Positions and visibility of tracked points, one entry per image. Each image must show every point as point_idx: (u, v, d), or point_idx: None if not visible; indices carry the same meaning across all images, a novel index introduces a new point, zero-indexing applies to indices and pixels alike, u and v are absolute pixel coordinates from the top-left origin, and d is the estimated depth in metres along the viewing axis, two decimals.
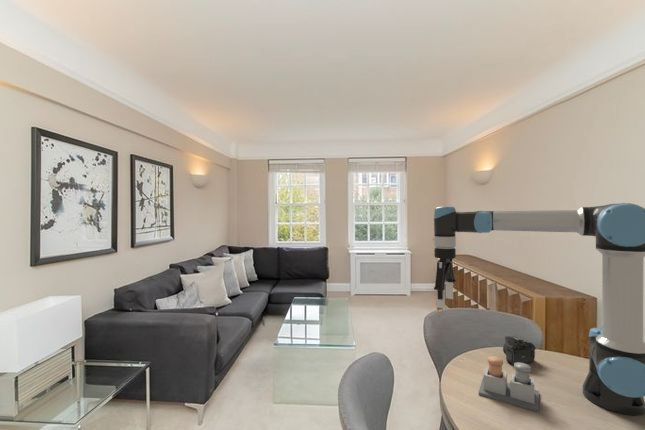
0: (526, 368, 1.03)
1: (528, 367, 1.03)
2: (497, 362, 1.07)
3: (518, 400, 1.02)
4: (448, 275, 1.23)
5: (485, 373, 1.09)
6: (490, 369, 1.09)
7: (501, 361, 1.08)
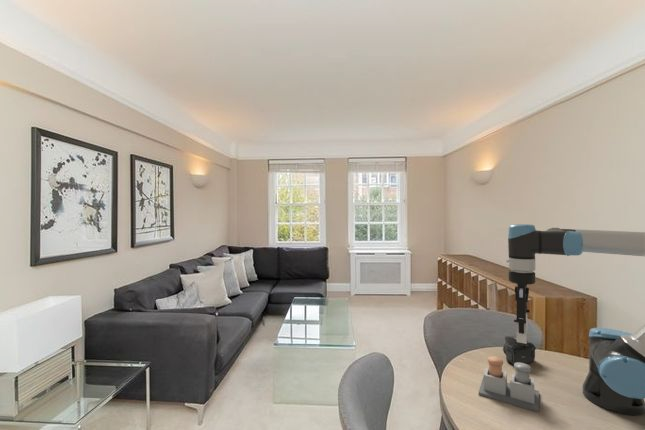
0: (526, 368, 1.03)
1: (528, 367, 1.03)
2: (497, 362, 1.07)
3: (518, 400, 1.02)
4: None
5: (485, 373, 1.09)
6: (490, 369, 1.09)
7: (501, 361, 1.08)
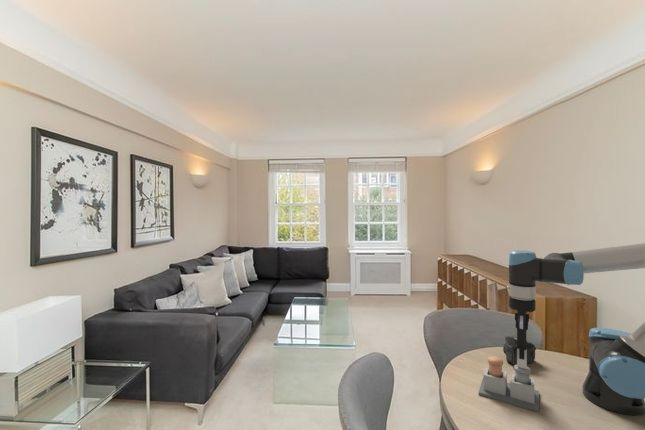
0: (526, 370, 1.03)
1: (528, 369, 1.03)
2: (497, 362, 1.07)
3: (518, 400, 1.02)
4: None
5: (485, 373, 1.09)
6: (490, 369, 1.09)
7: (501, 361, 1.08)
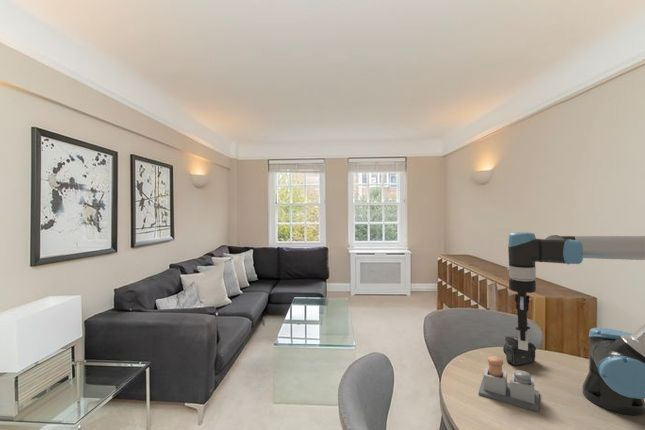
0: (526, 376, 1.03)
1: (528, 375, 1.04)
2: (497, 362, 1.07)
3: (518, 400, 1.02)
4: None
5: (485, 373, 1.09)
6: (490, 369, 1.09)
7: (501, 361, 1.08)
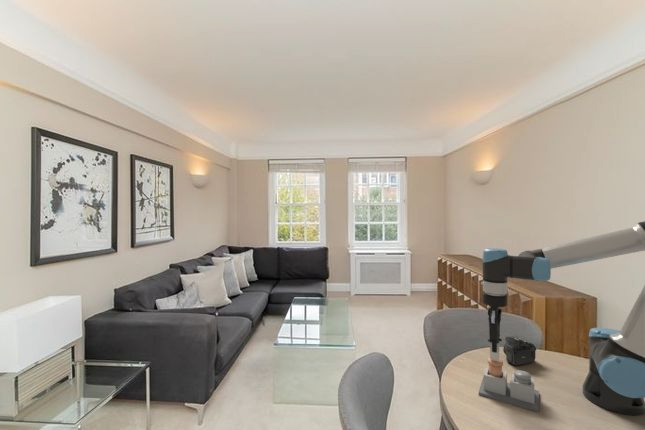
0: (526, 376, 1.03)
1: (528, 375, 1.04)
2: (497, 363, 1.07)
3: (518, 400, 1.02)
4: None
5: (485, 373, 1.09)
6: (490, 370, 1.09)
7: (501, 362, 1.08)
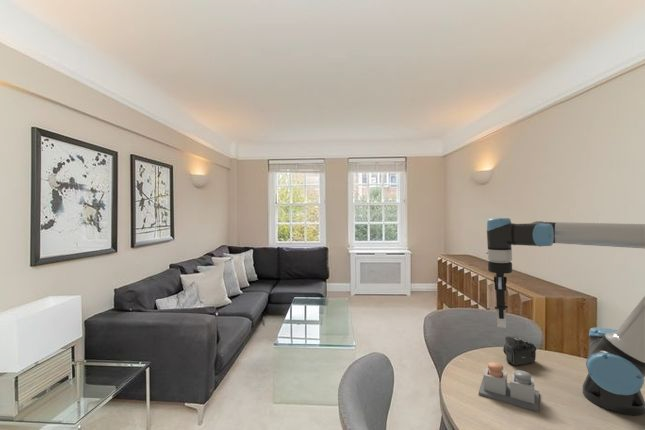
0: (526, 376, 1.03)
1: (528, 375, 1.04)
2: (497, 368, 1.07)
3: (518, 400, 1.02)
4: None
5: (485, 373, 1.09)
6: None
7: (501, 367, 1.08)
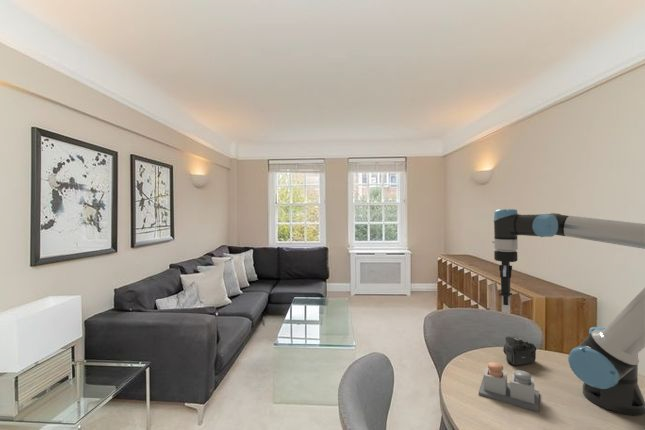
0: (526, 376, 1.03)
1: (528, 375, 1.04)
2: (497, 368, 1.07)
3: (518, 400, 1.02)
4: None
5: (485, 373, 1.09)
6: None
7: (501, 367, 1.08)
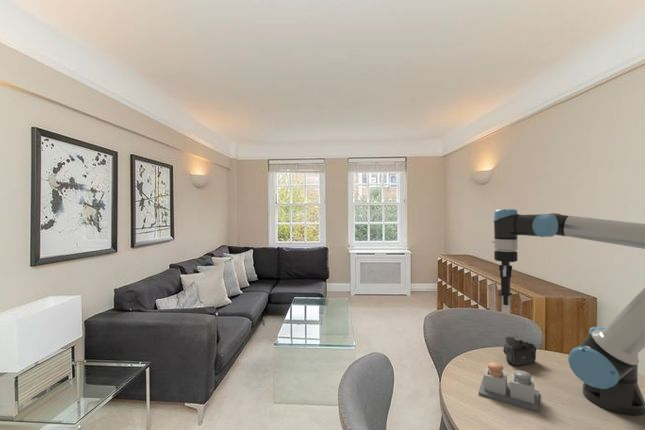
0: (526, 376, 1.03)
1: (528, 375, 1.04)
2: (497, 368, 1.07)
3: (518, 400, 1.02)
4: None
5: (485, 373, 1.09)
6: None
7: (501, 367, 1.08)
